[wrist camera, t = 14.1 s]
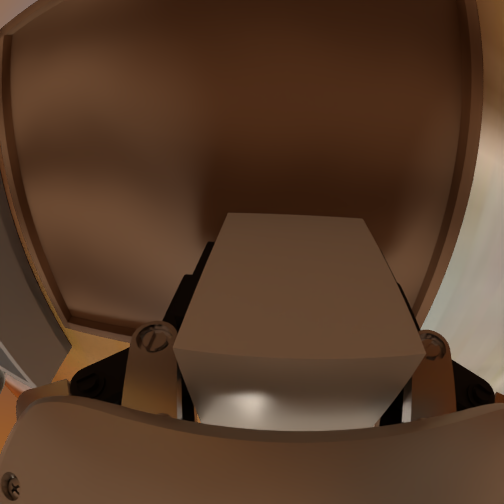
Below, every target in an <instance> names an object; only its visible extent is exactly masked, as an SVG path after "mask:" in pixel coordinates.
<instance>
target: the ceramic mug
mask: <svg viewBox="0 0 504 504" xmlns="http://www.w3.org/2000/svg"><path fill="white" fill-rule="evenodd" d="M4 383H5V373H4V371H2V370H1V369H0V393H1V391H2V389H3V387H4Z"/></svg>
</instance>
